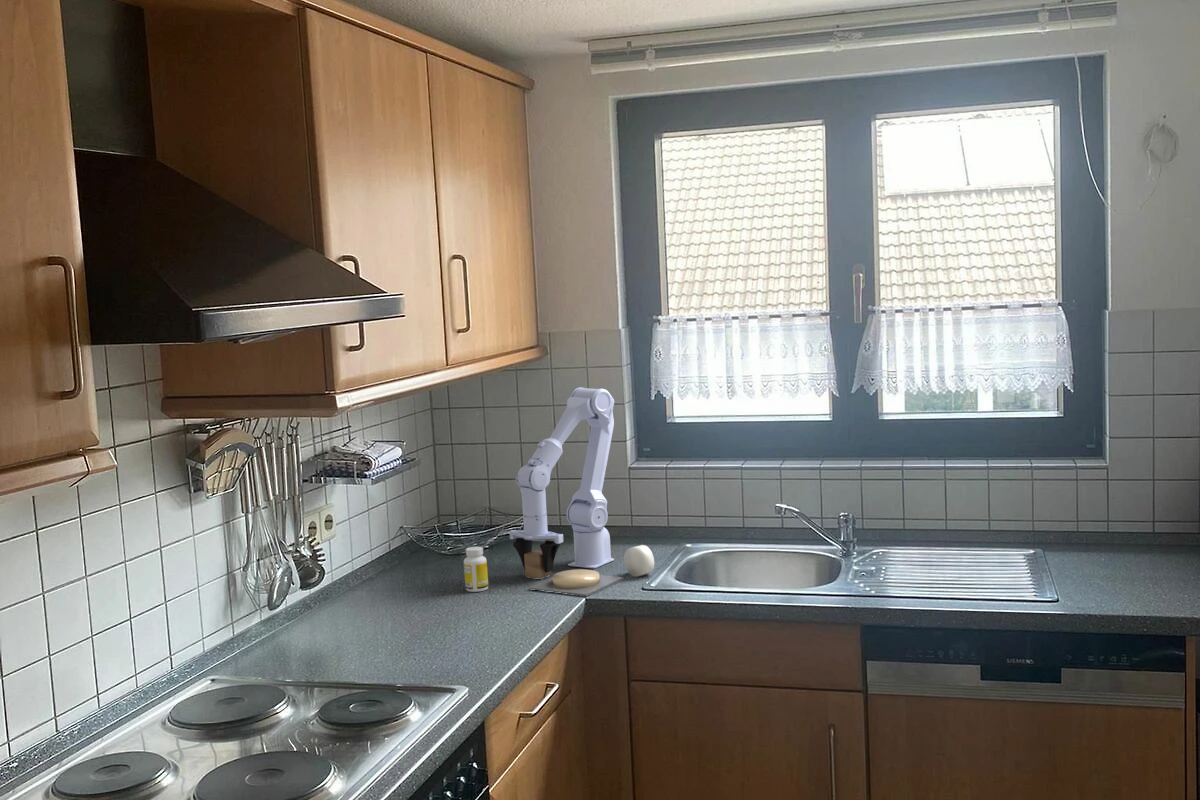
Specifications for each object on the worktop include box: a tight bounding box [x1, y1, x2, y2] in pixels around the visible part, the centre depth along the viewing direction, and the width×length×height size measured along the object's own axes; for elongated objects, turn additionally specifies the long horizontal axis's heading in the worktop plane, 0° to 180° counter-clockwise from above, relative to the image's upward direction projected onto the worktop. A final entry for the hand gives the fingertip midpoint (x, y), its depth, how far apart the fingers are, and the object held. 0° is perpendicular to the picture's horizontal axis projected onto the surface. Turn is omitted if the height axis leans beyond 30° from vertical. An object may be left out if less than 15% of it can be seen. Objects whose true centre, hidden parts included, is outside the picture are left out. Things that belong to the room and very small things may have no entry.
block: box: [524, 549, 552, 579], centre depth 284 cm, size 4×4×6 cm
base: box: [527, 568, 624, 597], centre depth 275 cm, size 16×16×2 cm
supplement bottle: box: [463, 546, 489, 593], centre depth 275 cm, size 5×5×10 cm
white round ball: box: [623, 544, 655, 578], centre depth 281 cm, size 7×7×4 cm
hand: (538, 570), depth 284 cm, fingers open, 6 cm apart
